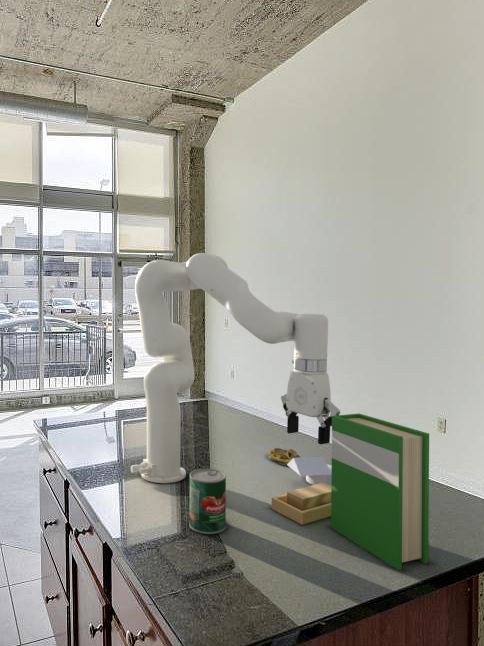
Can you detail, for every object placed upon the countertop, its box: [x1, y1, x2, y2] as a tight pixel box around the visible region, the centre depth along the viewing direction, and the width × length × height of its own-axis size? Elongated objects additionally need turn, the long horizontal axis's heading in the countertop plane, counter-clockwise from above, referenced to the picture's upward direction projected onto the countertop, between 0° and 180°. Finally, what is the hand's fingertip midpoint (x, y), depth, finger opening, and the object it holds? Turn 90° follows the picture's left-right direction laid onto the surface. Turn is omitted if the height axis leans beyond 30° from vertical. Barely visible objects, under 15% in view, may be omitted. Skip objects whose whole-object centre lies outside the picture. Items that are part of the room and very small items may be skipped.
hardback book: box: [330, 412, 430, 570], centre depth 97 cm, size 18×7×24 cm, turn 21°
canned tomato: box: [188, 468, 227, 535], centre depth 104 cm, size 8×8×11 cm
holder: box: [271, 493, 331, 525], centre depth 113 cm, size 18×10×3 cm, turn 120°
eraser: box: [286, 483, 331, 511], centre depth 113 cm, size 12×5×4 cm, turn 120°
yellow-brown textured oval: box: [267, 447, 301, 467], centre depth 149 cm, size 9×5×15 cm
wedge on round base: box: [287, 456, 332, 486], centre depth 131 cm, size 9×7×13 cm
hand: (307, 437), depth 114 cm, fingers open, 9 cm apart
